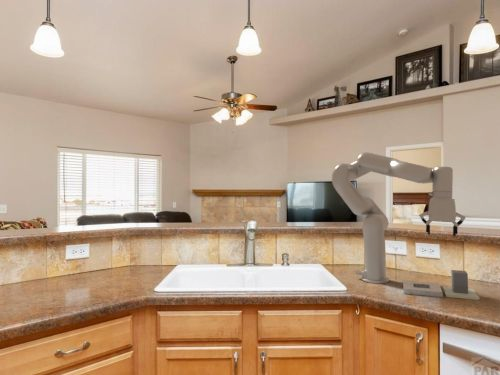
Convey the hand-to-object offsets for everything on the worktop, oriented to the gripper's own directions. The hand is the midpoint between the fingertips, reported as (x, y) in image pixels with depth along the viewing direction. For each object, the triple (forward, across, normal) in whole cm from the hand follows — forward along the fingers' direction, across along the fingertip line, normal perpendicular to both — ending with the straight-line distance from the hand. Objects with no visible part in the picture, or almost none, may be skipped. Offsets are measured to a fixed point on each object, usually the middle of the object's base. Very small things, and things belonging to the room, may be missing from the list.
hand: (441, 234), depth 146 cm
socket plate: (+23, -7, -7) cm, 26 cm away
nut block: (+22, +6, -7) cm, 24 cm away
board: (+23, +7, -7) cm, 25 cm away
